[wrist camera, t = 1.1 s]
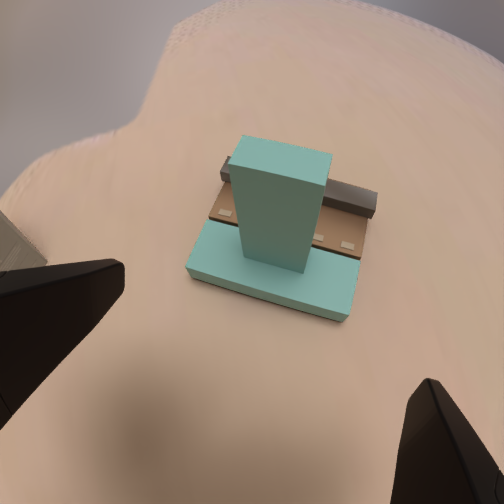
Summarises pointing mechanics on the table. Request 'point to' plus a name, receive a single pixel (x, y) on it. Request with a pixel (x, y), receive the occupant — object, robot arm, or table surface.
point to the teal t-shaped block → (276, 233)
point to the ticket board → (330, 217)
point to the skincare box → (16, 248)
